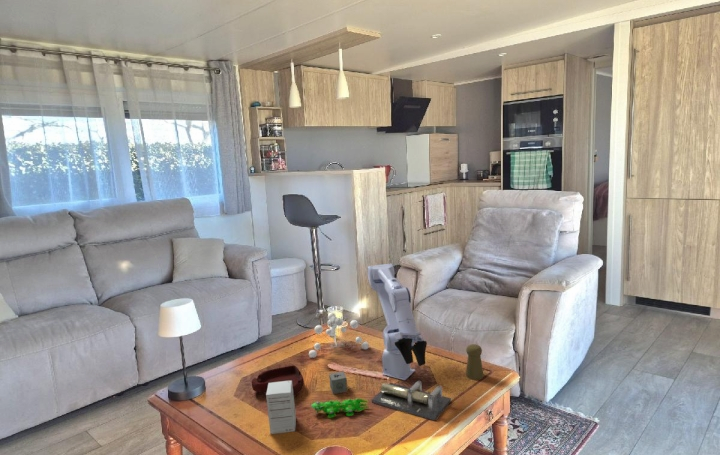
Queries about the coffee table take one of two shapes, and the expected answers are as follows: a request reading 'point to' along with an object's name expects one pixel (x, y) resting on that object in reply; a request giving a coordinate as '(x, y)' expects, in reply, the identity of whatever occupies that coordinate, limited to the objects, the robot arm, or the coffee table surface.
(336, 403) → the green bumpy long piece
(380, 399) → the collar base
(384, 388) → the brass tube
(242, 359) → the coffee table surface
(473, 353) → the cork
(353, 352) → the coffee table surface
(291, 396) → the supplement box
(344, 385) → the dice cube
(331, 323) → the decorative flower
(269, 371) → the ashtray
